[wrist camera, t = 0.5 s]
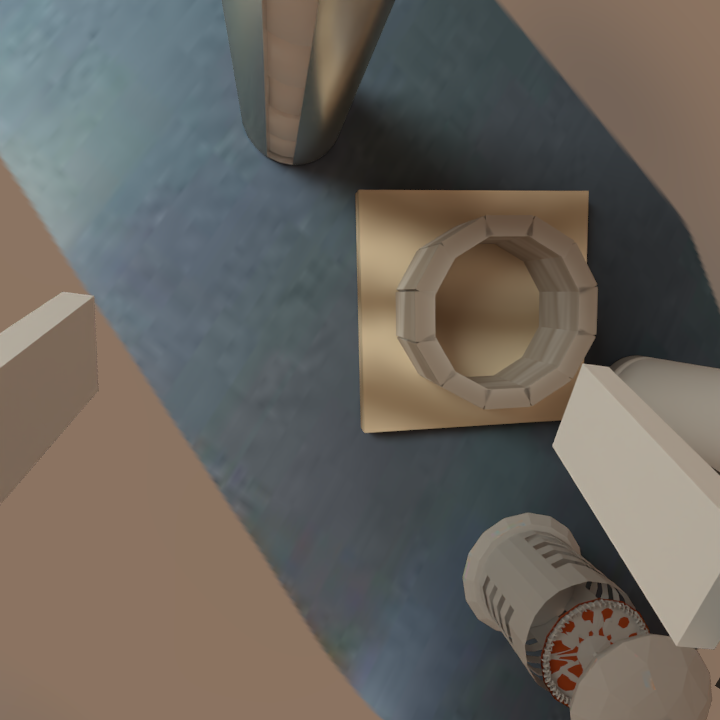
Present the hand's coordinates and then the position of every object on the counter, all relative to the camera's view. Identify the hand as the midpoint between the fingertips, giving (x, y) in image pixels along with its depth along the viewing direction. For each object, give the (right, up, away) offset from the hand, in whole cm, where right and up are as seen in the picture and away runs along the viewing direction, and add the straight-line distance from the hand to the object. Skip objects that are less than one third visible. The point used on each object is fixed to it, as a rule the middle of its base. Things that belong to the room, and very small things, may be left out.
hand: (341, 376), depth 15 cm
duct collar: (+8, +4, +24) cm, 25 cm away
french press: (+14, -17, +27) cm, 35 cm away
